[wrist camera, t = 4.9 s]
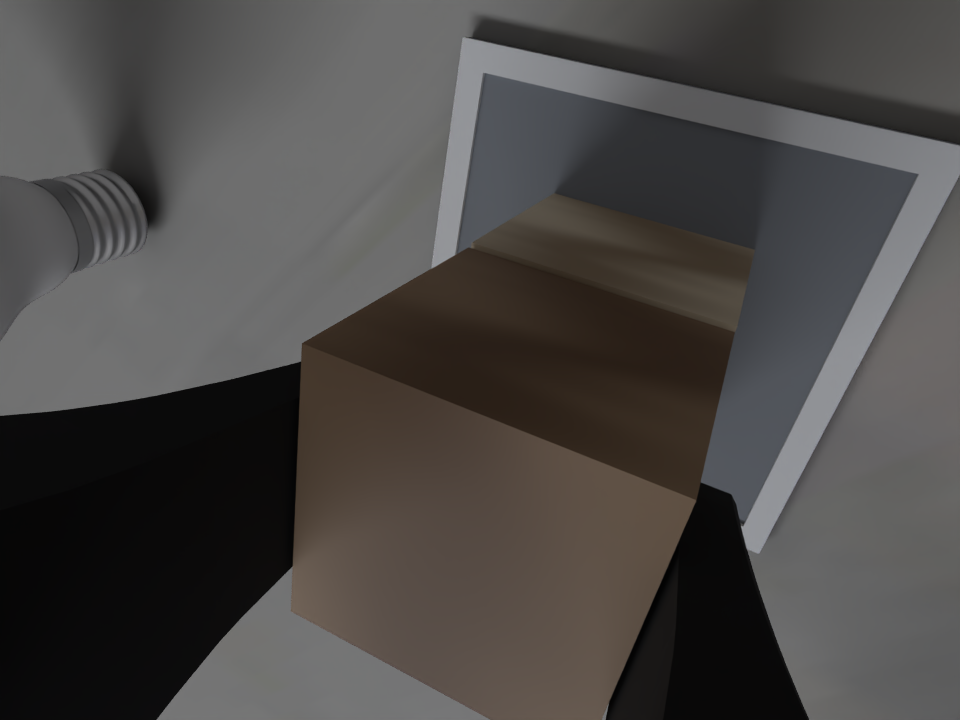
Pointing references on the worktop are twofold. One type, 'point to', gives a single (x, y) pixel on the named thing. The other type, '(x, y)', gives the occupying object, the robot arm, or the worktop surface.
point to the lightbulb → (62, 232)
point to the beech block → (628, 257)
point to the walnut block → (500, 480)
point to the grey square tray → (714, 225)
